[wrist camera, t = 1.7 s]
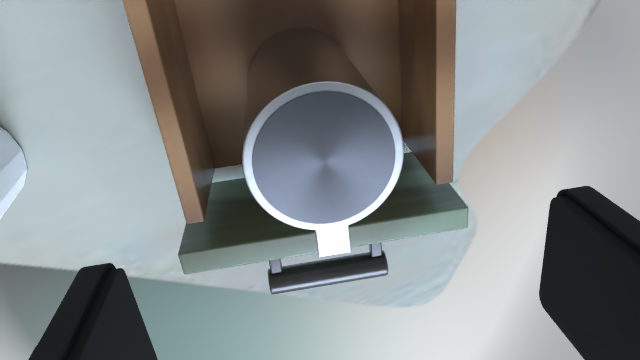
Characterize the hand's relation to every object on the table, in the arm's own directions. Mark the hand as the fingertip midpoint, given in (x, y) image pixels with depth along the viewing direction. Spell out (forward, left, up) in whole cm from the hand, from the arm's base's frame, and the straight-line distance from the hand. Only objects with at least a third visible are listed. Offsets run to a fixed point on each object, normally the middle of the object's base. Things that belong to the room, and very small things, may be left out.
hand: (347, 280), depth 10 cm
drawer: (+1, 0, -17) cm, 17 cm away
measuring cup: (0, 0, -15) cm, 15 cm away
